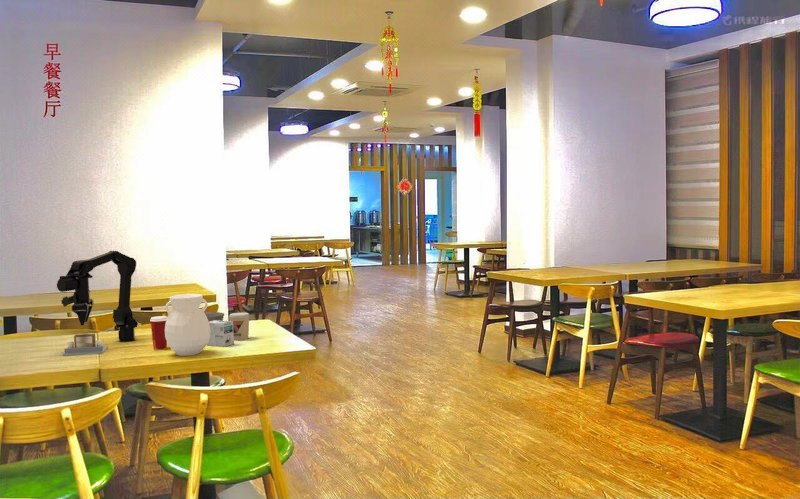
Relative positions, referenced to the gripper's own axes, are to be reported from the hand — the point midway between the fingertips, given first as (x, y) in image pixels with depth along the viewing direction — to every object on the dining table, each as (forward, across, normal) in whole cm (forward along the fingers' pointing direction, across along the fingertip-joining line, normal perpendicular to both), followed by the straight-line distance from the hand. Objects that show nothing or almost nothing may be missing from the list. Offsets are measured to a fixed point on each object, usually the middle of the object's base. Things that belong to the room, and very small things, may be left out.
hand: (84, 323), depth 303 cm
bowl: (+13, -21, +51) cm, 57 cm away
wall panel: (+12, +7, +1) cm, 14 cm away
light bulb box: (+12, +12, +58) cm, 61 cm away
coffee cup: (+13, +1, +67) cm, 68 cm away
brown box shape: (+11, +8, +1) cm, 13 cm away
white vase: (+12, +28, +45) cm, 54 cm away
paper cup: (+12, +11, +32) cm, 36 cm away
